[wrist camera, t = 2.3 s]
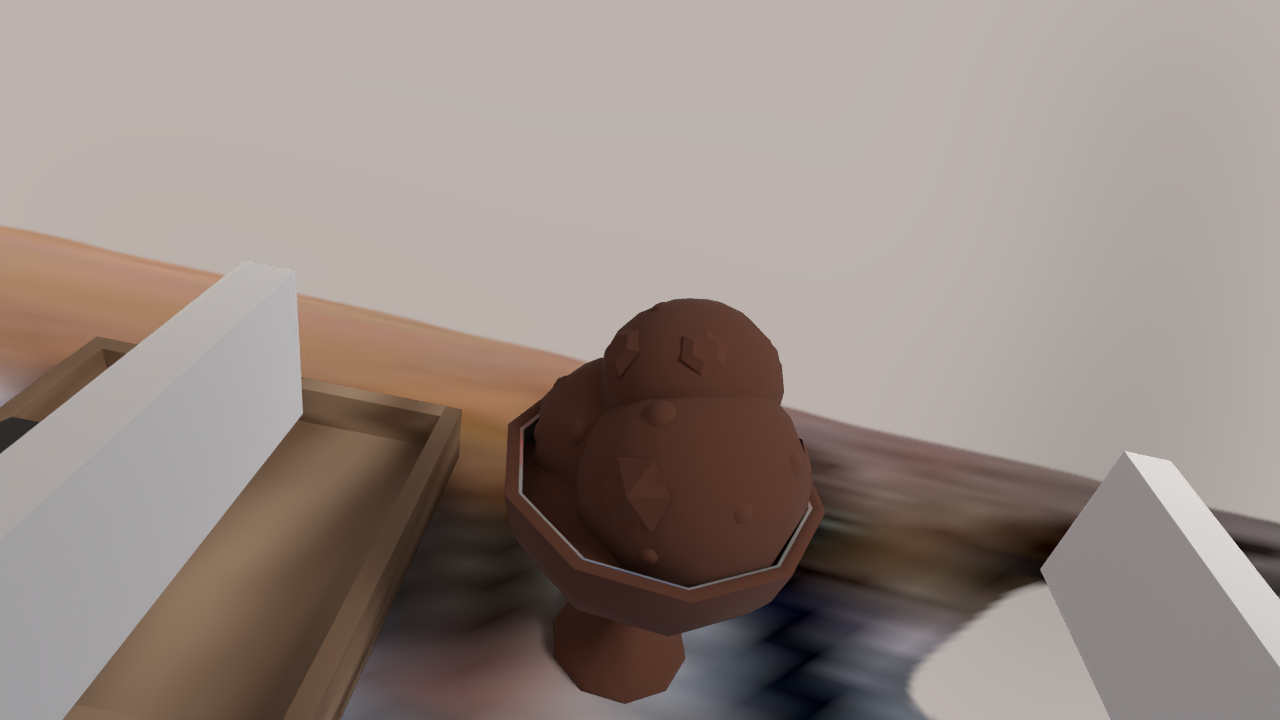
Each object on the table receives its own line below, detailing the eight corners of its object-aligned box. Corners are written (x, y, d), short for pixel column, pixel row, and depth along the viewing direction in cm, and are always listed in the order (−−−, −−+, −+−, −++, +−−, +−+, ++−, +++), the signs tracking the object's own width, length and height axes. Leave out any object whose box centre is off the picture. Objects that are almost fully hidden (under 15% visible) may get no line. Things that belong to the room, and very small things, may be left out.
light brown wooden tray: (458, 456, 38) (461, 409, 36) (292, 824, 23) (285, 773, 22) (109, 387, 38) (96, 336, 36) (-286, 716, 23) (-338, 656, 21)
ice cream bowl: (451, 569, 32) (472, 253, 24) (680, 520, 37) (761, 244, 29) (526, 818, 25) (594, 478, 17) (801, 716, 30) (959, 415, 21)
